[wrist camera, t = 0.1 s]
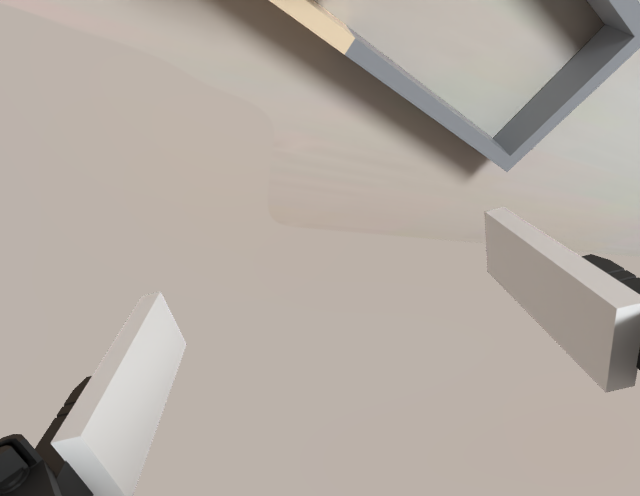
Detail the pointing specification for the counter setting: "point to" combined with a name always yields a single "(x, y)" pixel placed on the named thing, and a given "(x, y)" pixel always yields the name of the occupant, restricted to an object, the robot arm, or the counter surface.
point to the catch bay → (535, 117)
